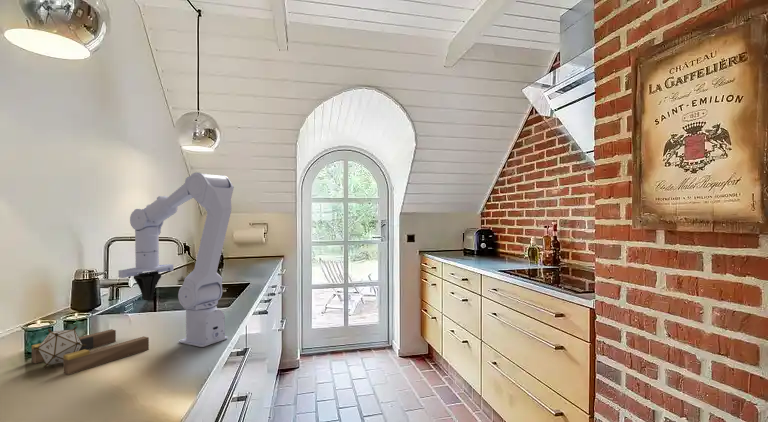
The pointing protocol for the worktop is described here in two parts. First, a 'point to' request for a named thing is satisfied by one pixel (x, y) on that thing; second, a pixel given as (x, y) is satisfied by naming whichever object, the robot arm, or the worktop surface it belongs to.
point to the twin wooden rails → (97, 351)
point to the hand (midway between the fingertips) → (147, 299)
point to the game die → (59, 346)
